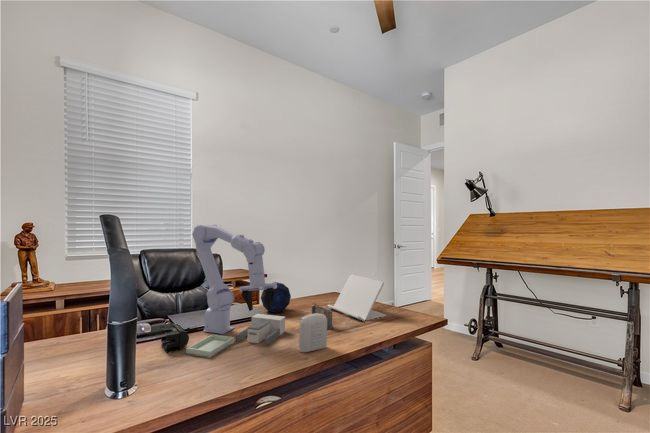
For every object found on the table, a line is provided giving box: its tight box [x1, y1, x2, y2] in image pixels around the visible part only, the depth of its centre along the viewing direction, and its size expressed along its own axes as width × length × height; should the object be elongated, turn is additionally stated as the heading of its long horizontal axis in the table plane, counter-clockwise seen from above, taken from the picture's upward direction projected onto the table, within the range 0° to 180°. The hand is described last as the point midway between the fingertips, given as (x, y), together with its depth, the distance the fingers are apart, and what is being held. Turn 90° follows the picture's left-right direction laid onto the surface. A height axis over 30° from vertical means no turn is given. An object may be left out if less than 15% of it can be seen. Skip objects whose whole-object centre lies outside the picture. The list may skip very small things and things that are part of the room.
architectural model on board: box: [311, 301, 333, 330], centre depth 142 cm, size 11×3×10 cm, turn 38°
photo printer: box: [298, 313, 328, 353], centre depth 116 cm, size 10×4×12 cm, turn 123°
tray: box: [185, 333, 235, 359], centre depth 115 cm, size 10×14×2 cm
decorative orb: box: [260, 281, 292, 314], centre depth 163 cm, size 14×15×15 cm
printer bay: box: [235, 313, 286, 347], centre depth 128 cm, size 13×16×6 cm
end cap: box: [160, 324, 190, 354], centre depth 116 cm, size 10×7×7 cm
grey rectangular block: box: [246, 320, 270, 344], centre depth 125 cm, size 5×10×6 cm, turn 163°
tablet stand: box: [327, 273, 387, 322], centre depth 162 cm, size 18×25×17 cm
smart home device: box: [137, 322, 175, 337], centre depth 132 cm, size 8×2×20 cm
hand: (260, 309), depth 126 cm, fingers open, 7 cm apart
